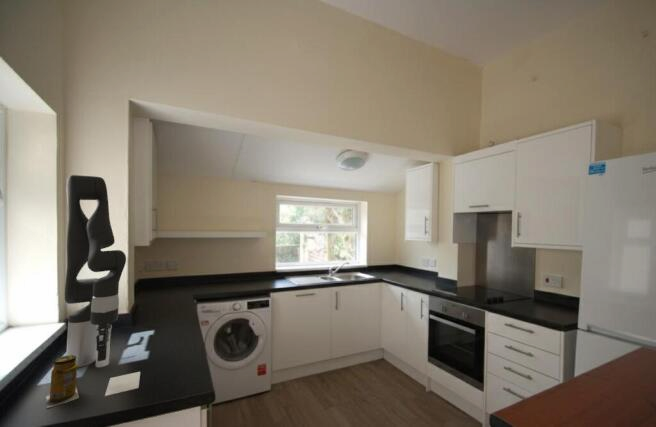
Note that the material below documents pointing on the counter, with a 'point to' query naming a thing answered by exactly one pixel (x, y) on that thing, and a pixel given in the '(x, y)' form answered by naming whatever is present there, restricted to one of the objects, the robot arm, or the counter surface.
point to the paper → (123, 383)
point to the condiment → (63, 381)
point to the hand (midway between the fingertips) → (102, 357)
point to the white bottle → (106, 361)
